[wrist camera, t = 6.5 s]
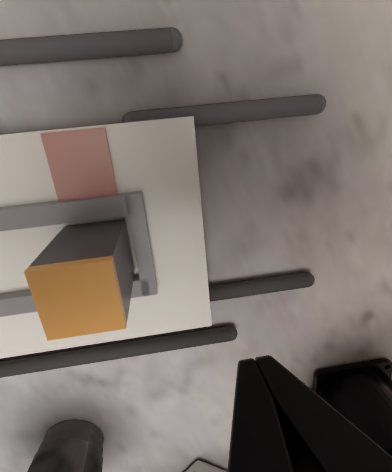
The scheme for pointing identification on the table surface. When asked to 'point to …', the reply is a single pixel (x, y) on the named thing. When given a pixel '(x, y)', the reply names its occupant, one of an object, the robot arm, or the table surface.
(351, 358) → the table surface
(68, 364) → the rod
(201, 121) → the rod
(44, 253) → the breaker toggle
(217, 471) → the skincare box
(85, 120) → the table surface
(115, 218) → the breaker switch base
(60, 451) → the beverage cup
